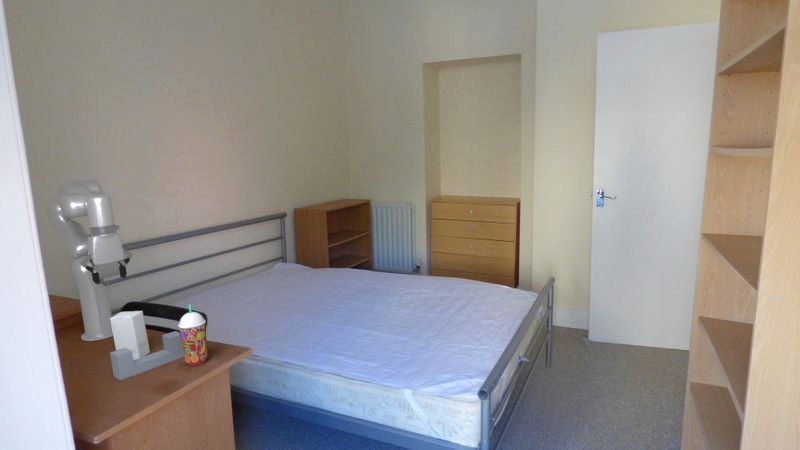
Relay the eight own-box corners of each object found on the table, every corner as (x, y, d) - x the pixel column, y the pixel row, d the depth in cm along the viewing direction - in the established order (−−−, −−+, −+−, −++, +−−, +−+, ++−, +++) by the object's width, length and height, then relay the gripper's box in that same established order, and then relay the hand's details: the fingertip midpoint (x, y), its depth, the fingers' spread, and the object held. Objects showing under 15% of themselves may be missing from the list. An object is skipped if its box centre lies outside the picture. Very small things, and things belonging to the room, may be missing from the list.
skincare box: (150, 352, 177) (144, 310, 174) (139, 361, 170) (132, 316, 168) (128, 353, 177) (121, 310, 175) (115, 361, 171) (109, 317, 168)
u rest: (113, 376, 159) (110, 352, 158) (178, 353, 175) (175, 331, 174) (120, 380, 156) (116, 356, 155) (185, 356, 172) (182, 333, 171)
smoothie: (177, 365, 165) (169, 307, 161) (198, 355, 172) (191, 299, 169) (195, 370, 161) (187, 309, 157) (215, 359, 168) (208, 301, 165)
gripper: (124, 226, 182) (131, 273, 185) (70, 234, 169) (78, 285, 172) (134, 227, 177) (140, 275, 180) (78, 236, 164) (87, 288, 167)
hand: (110, 280), depth 176 cm, fingers open, 7 cm apart
